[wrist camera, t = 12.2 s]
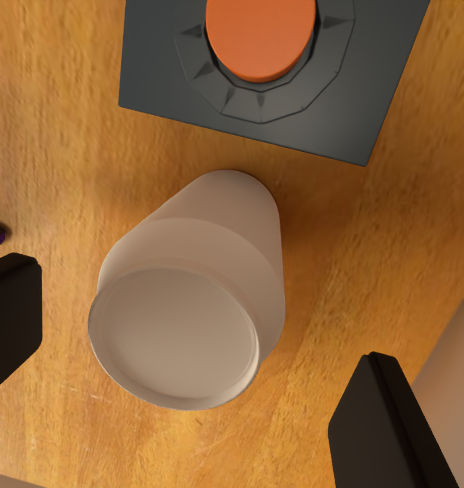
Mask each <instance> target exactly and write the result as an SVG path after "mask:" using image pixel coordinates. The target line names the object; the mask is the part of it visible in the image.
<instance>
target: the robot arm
mask: <svg viewBox="0 0 464 488" xmlns="http://www.w3.org/2000/svg"><path fill="white" fill-rule="evenodd" d="M41 342H42V269H41V266H40V265H39V264H38V262H37V260H36V259H35V258H34V257H30V256H26V255H23V254H19V253H14V252H13V253H10V254H7V255H5V256H3V257H1V258H0V384H1V383H3V382H4V381H5V380H6V379H7V378H8V377H9V376H10V375H11V374H12V373H13V372H14V371H15V370H16V369H17V368H19V367H20V366H21V365H22V364H23V363H24V362H25V361H26V360H27V359H28V358H29V357H30V356H31V355H32V354H33V353H34V352H36V350H37V349H38V348H39V346H40V344H41ZM328 439H329V445H330V452H331V458H332V465H333V472H334V478H335V485H336V488H459V486H458V484H457V482H456V480H455V478H454V476H453V474H452V472H451V470H450V468H449V466H448V464H447V462H446V460H445V458H444V455H443V454H442V451H441V449H440V447H439V445H438V443H437V441H436V439H435V437H434V435H433V433H432V431H431V429H430V427H429V425H428V422H427V421H426V419H425V416H424V414H423V412H422V410H421V408H420V406H419V404H418V402H417V400H416V398H415V396H414V394H413V392H412V390H411V388H410V385H409V383H408V381H407V379H406V377H405V375H404V373H403V371H402V369H401V367H400V365H399V363H398V361H397V359H396V358H395V357H393V356H389V355H385V354H382V353H378V352H374V351H373V352H370V353H369V355H363V356H362V357H361V359H360V361H359V363H358V365H357V367H356V369H355V371H354V373H353V375H352V377H351V379H350V381H349V383H348V385H347V387H346V389H345V391H344V393H343V395H342V397H341V399H340V401H339V403H338V406H337V408H336V410H335V412H334V414H333V416H332V418H331V420H330V422H329V426H328Z"/></svg>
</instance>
